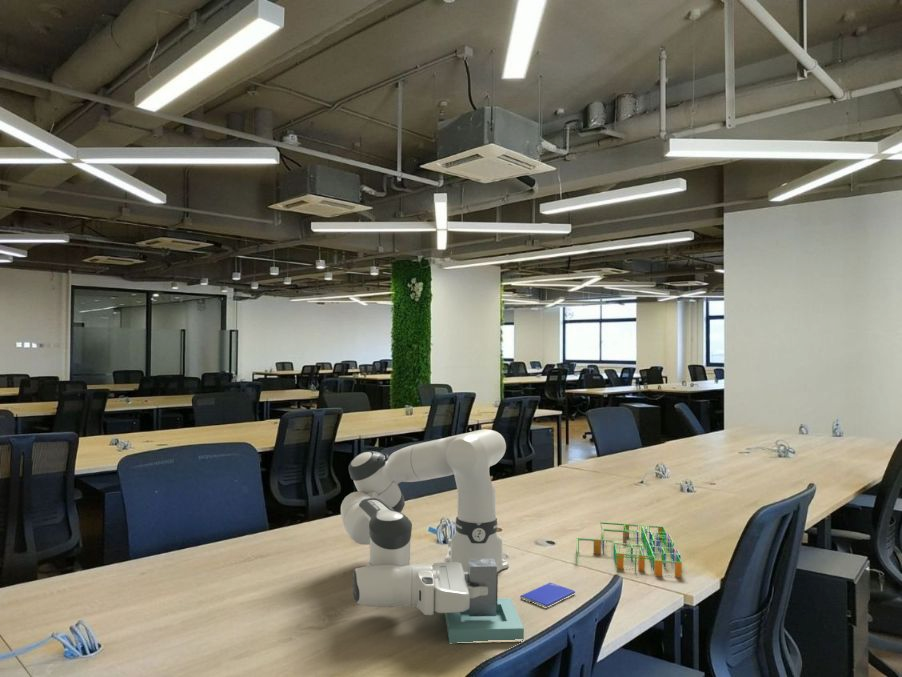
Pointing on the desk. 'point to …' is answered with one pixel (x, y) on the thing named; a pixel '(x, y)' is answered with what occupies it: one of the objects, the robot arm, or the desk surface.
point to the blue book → (547, 594)
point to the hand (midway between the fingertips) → (485, 584)
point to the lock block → (483, 575)
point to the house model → (641, 558)
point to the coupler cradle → (485, 624)
